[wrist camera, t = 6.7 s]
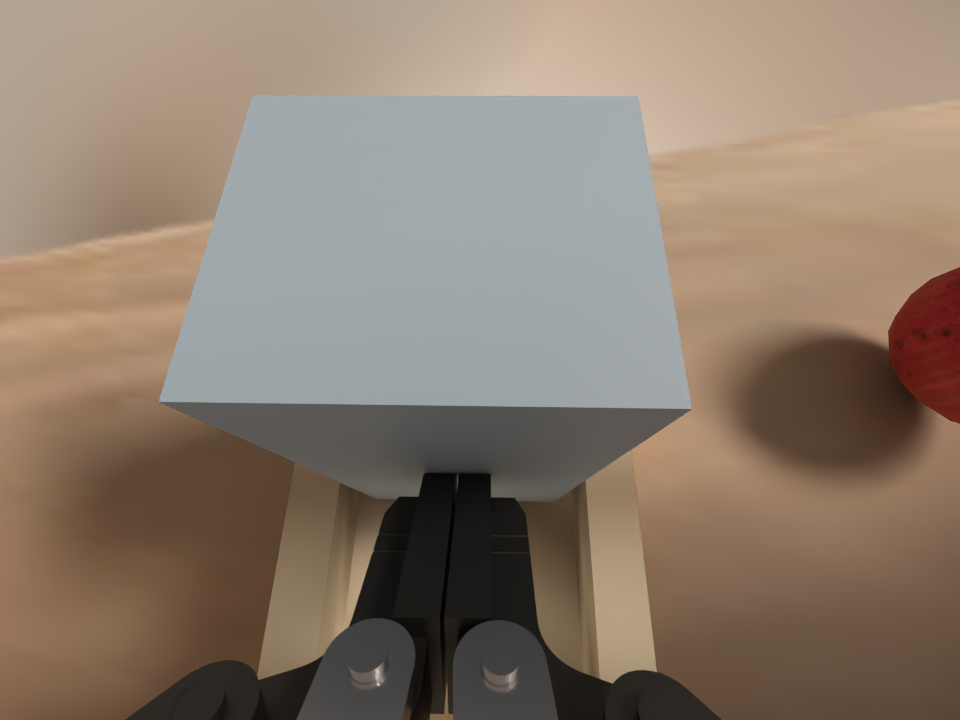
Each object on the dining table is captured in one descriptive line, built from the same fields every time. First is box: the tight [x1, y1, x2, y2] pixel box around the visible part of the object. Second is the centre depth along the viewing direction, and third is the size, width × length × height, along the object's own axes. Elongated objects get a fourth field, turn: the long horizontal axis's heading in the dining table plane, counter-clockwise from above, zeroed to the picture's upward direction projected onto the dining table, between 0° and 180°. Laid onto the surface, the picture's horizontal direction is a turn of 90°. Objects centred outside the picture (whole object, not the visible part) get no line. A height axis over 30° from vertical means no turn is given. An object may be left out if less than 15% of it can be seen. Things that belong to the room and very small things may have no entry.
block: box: [159, 96, 692, 502], centre depth 11 cm, size 5×6×11 cm
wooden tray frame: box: [257, 450, 657, 720], centre depth 14 cm, size 20×10×5 cm, turn 179°
